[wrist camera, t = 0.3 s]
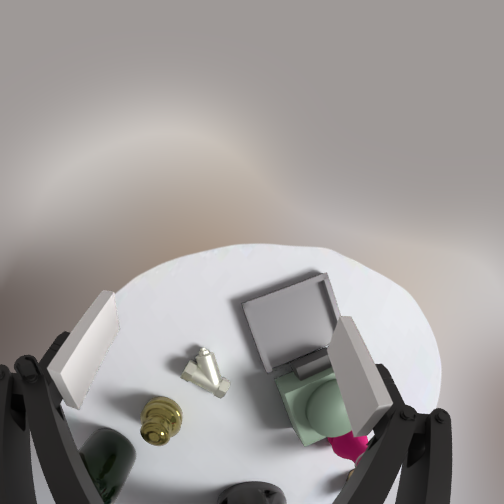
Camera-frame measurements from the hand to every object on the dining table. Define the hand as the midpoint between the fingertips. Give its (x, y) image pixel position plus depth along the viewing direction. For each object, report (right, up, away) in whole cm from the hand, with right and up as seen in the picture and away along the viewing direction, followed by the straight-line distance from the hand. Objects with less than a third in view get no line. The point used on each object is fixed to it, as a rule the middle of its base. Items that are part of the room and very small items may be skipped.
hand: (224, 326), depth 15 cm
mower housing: (+14, -21, +32) cm, 41 cm away
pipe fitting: (-6, -17, +31) cm, 36 cm away
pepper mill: (+20, -34, +32) cm, 51 cm away
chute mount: (+9, -8, +34) cm, 36 cm away
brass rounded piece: (-15, -26, +28) cm, 41 cm away
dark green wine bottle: (-27, -36, +26) cm, 52 cm away
